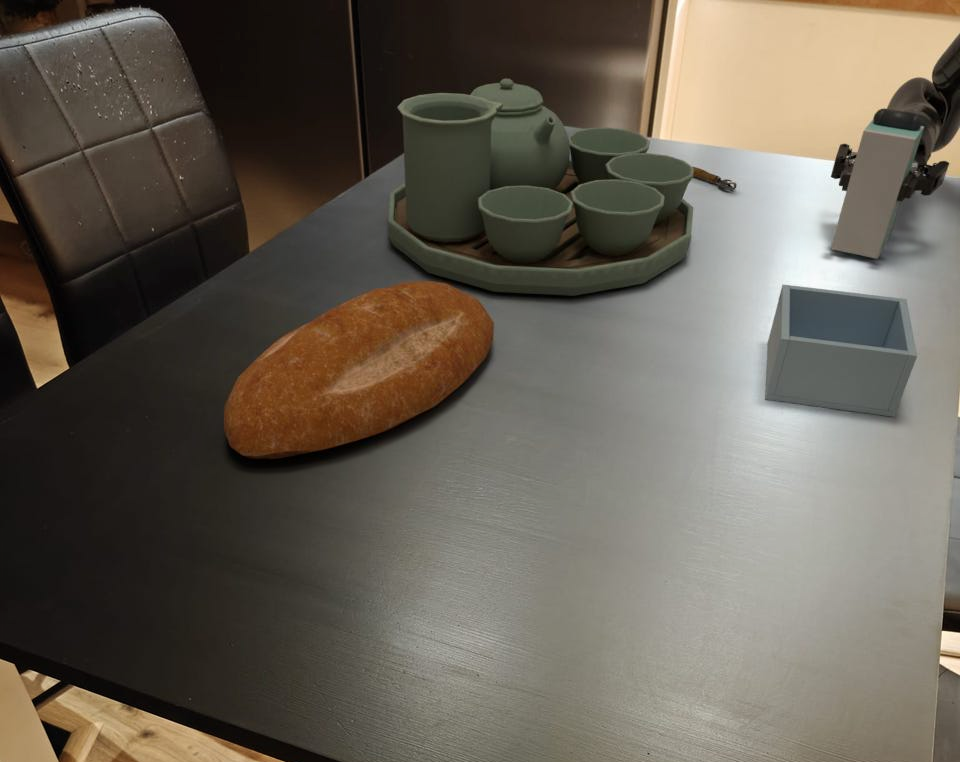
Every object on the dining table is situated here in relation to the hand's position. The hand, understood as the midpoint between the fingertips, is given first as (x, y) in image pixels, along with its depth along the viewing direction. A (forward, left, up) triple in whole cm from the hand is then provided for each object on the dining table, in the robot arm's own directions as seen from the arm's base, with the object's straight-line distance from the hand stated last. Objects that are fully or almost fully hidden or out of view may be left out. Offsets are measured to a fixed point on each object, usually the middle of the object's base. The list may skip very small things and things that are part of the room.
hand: (874, 187), depth 114 cm
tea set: (+40, +4, -9) cm, 41 cm away
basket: (+4, +33, -9) cm, 34 cm away
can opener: (+19, -22, -9) cm, 31 cm away
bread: (+49, +48, -9) cm, 69 cm away
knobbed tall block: (-1, -2, -8) cm, 8 cm away
